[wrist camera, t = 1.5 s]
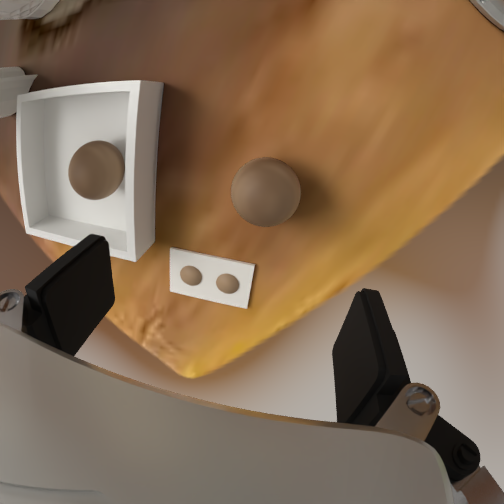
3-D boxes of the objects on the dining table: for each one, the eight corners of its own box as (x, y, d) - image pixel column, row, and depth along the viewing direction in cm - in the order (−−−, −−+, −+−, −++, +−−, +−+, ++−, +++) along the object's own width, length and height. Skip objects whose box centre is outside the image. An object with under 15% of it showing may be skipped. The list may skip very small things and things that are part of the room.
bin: (164, 82, 20) (140, 80, 17) (155, 241, 27) (135, 261, 24) (44, 91, 21) (17, 95, 18) (48, 218, 28) (26, 233, 25)
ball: (136, 137, 22) (102, 147, 18) (135, 193, 25) (104, 212, 20) (91, 135, 22) (55, 145, 18) (92, 186, 25) (58, 204, 20)
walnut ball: (306, 159, 22) (308, 172, 17) (293, 218, 24) (292, 244, 20) (242, 147, 22) (228, 158, 18) (234, 206, 25) (219, 230, 20)
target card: (255, 264, 27) (254, 266, 26) (247, 306, 29) (246, 309, 29) (171, 246, 27) (169, 248, 27) (171, 289, 30) (169, 291, 29)
